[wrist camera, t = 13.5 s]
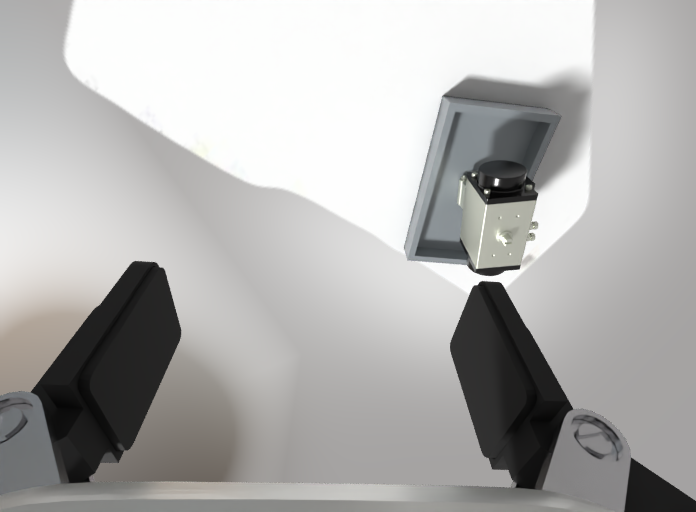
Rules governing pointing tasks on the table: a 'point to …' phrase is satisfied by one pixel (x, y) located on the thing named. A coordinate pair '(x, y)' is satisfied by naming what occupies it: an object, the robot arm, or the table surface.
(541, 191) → the table surface
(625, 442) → the robot arm
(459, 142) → the parts tray
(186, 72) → the table surface
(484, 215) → the pneumatic valve
